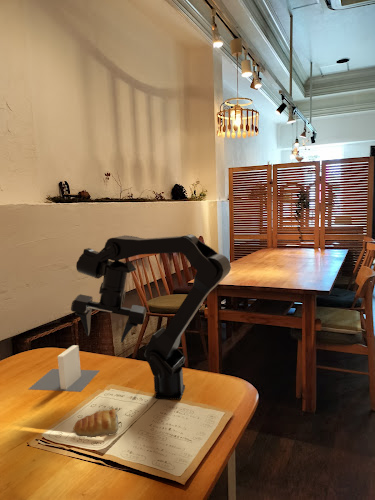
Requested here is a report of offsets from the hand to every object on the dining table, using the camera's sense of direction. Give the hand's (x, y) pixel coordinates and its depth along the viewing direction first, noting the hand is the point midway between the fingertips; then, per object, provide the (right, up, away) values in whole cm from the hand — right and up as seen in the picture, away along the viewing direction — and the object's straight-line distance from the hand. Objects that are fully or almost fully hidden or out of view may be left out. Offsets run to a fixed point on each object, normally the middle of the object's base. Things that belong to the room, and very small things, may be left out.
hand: (104, 338), depth 99 cm
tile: (-10, -12, +2) cm, 16 cm away
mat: (-12, -13, +4) cm, 18 cm away
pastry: (+3, -15, -19) cm, 25 cm away
